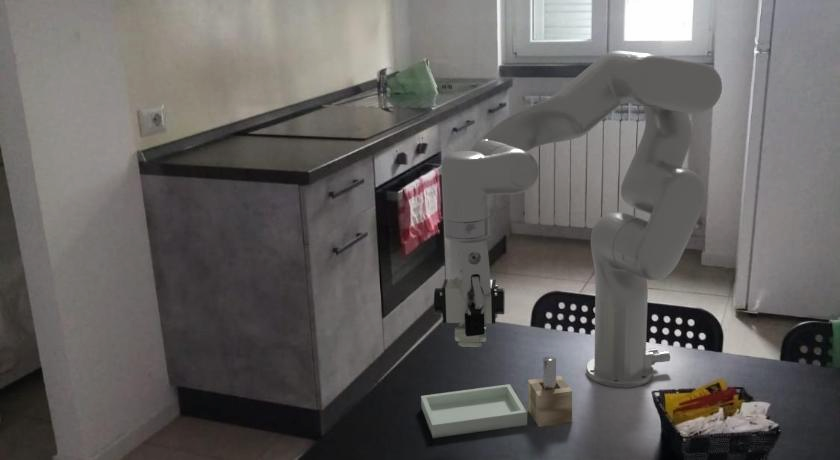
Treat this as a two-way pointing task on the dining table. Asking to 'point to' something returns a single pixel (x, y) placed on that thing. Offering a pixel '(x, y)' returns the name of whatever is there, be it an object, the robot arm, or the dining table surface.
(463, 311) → the pneumatic valve
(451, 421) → the tray
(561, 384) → the bore block
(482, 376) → the dining table surface
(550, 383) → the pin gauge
